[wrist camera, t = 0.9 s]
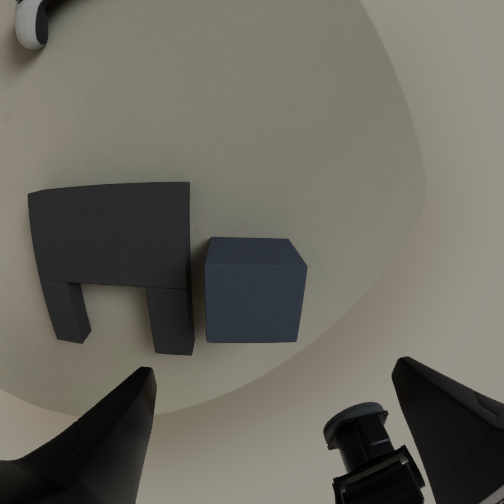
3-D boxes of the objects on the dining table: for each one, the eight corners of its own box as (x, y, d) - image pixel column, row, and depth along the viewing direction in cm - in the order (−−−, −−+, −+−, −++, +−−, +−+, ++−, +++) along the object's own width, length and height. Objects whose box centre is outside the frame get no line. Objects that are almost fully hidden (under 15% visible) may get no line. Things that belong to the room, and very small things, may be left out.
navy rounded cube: (282, 301, 20) (297, 342, 15) (211, 301, 20) (206, 343, 15) (288, 238, 19) (308, 266, 14) (210, 236, 18) (203, 264, 13)
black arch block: (194, 340, 21) (192, 356, 19) (66, 326, 20) (56, 339, 18) (189, 181, 17) (184, 184, 15) (42, 189, 16) (27, 193, 14)
